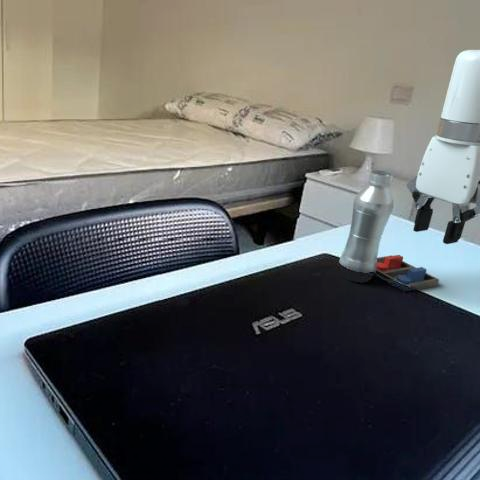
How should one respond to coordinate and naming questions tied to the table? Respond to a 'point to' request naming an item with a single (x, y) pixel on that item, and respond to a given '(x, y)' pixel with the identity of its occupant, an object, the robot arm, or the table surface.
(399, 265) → the red stepped block
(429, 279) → the cutlery tray
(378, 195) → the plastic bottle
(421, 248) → the table surface
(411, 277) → the blue stepped block
